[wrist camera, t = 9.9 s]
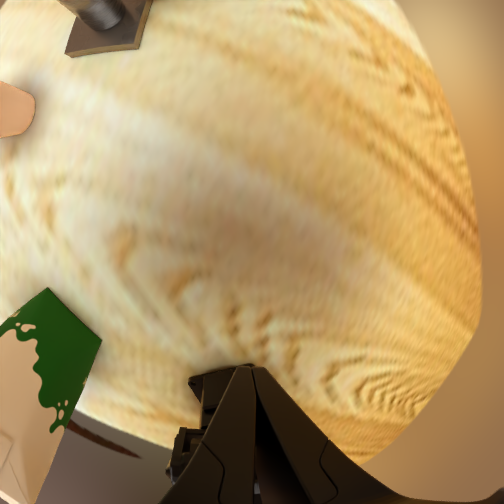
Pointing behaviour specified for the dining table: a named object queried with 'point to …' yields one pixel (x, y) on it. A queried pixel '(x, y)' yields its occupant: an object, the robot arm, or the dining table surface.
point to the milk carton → (38, 389)
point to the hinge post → (105, 25)
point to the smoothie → (15, 110)
